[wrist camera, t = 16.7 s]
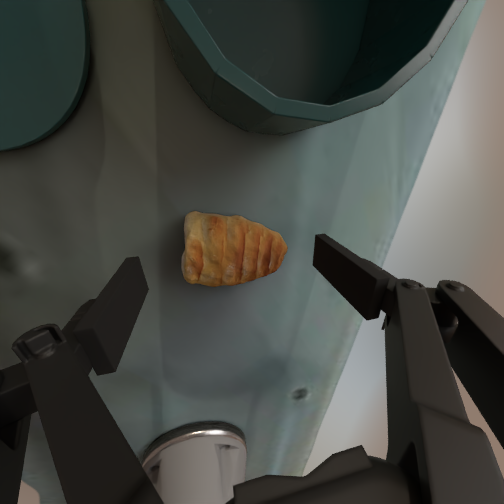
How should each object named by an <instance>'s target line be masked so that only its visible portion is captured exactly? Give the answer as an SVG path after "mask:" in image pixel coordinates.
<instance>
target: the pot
mask: <svg viewBox="0 0 504 504" xmlns="http://www.w3.org/2000/svg"><path fill="white" fill-rule="evenodd" d="M153 1H154V4H155V7H156V10H157V13H158V16H159V18H160V21H161V24H162V26H163V29H164V32H165V35H166V38H167V41H168V43H169V46H170V48H171V51H172V53H173V56H174V59H175V62H176V64H177V66H178V68H179V69H180V71H181V72H182V73H183V75H184V76H185V78H186V79H187V81H188V82H189V83H190V85H191V86H192V88H193V89H194V91H195V92H196V93H197V94H198V95H199V97H200V98H201V99H202V100H203V101H204V102H205V103H206V105H207V106H208V107H209V108H210V109H211V110H213V111H214V112H215V113H216V114H218V115H219V116H221V117H222V118H223V119H225V120H226V121H228V122H230V123H232V124H233V125H235V126H237V127H239V128H241V129H243V130H245V131H249V132H255V133H260V134H273V135H285V134H289V133H293V132H297V131H301V130H304V129H308V128H312V127H316V126H320V125H323V124H327V123H331V122H334V121H336V120H339V119H342V118H345V117H348V116H350V115H353V114H356V113H359V112H362V111H364V110H367V109H370V108H373V107H376V106H379V105H381V104H383V103H384V102H385V101H386V100H387V99H388V98H389V97H391V96H392V95H393V94H394V93H395V92H396V91H397V90H398V89H399V88H401V87H402V86H403V85H404V84H405V83H406V82H407V81H408V80H409V79H411V78H412V77H413V76H414V75H415V74H416V73H417V72H418V71H419V70H421V69H422V68H423V67H424V66H425V65H426V64H427V63H428V62H429V61H431V59H432V58H433V56H434V54H435V53H436V51H437V50H438V48H439V46H440V45H441V43H442V42H443V40H444V38H445V37H446V35H447V34H448V32H449V30H450V29H451V27H452V26H453V24H454V22H455V21H456V19H457V17H458V16H459V14H460V13H461V11H462V9H463V8H464V6H465V5H466V3H467V1H468V0H153Z"/></svg>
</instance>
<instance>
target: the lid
mask: <svg viewBox="0 0 504 504" xmlns="http://www.w3.org/2000/svg"><path fill="white" fill-rule="evenodd" d="M89 60H90V31H89V23H88V14H87V8H86V4H85V0H0V151H8V150H14V149H18V148H22V147H26V146H29V145H31V144H33V143H36V142H38V141H40V140H42V139H44V138H45V137H47V136H48V135H50V134H52V133H53V132H55V131H56V130H57V129H58V128H59V127H60V126H61V125H62V124H63V123H64V122H65V121H66V120H67V119H68V117H69V116H70V115H71V113H72V112H73V110H74V109H75V108H76V105H77V103H78V101H79V99H80V97H81V95H82V93H83V89H84V86H85V82H86V79H87V75H88V67H89Z"/></svg>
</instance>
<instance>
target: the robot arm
mask: <svg viewBox="0 0 504 504" xmlns="http://www.w3.org/2000/svg"><path fill="white" fill-rule="evenodd" d="M313 266H314V267H315V268H316V269H317V270H318V271H319V272H320V273H321V274H322V275H323V276H324V277H325V278H326V279H327V280H328V281H329V282H330V283H331V284H332V286H333V287H334V288H335V289H336V290H337V291H338V292H339V293H340V294H341V295H342V296H343V297H344V298H345V299H346V300H347V301H348V302H349V303H350V304H351V305H352V306H353V307H354V308H355V309H356V310H357V311H358V312H359V313H360V314H361V315H362V316H363V317H364V318H365V319H366V320H371V319H376V318H378V317H379V314H380V311H381V310H382V311H383V312H385V313H386V316H385V319H384V323H383V326H382V330H384V328H385V351H386V381H387V382H386V383H387V415H388V452H387V458H386V460H384V459H381V458H378V457H373V456H368V455H367V454H366V452H365V450H364V448H363V446H362V445H360V446H357V447H354V448H350V449H347V450H345V451H341V452H338V453H335V454H332V455H331V456H330V457H329V458H327V459H326V460H325V461H324V462H322V463H321V464H320V465H319V466H318V467H316V468H315V469H314V470H313V471H312V472H310V473H309V474H308V475H306V476H304V477H297V476H279V475H265V476H262V477H258V478H255V479H252V480H249V481H246V482H245V471H246V459H247V448H246V442H245V436H244V434H243V432H242V431H241V430H240V429H239V428H238V427H236V426H234V425H232V424H228V423H224V422H200V423H194V424H190V425H186V426H183V427H180V428H177V429H175V430H173V431H170V432H168V433H166V434H165V435H163V436H161V437H160V438H158V439H157V440H156V441H154V442H153V443H152V444H151V445H150V446H149V447H148V449H147V450H146V452H145V454H144V456H143V461H142V465H141V464H140V462H139V460H138V459H137V457H136V455H135V454H134V452H133V450H132V449H131V447H130V445H129V444H128V442H127V440H126V439H125V437H124V435H123V434H122V432H121V430H120V429H119V427H118V425H117V424H116V422H115V420H114V419H113V417H112V415H111V414H110V412H109V410H108V409H107V407H106V405H105V404H104V402H103V400H102V399H101V397H100V395H99V394H98V392H97V390H96V388H95V387H94V385H93V383H92V382H91V380H90V378H89V377H88V375H89V373H90V371H91V369H92V367H93V369H94V371H95V372H96V374H97V376H98V375H103V374H108V373H113V372H116V369H117V367H118V364H119V362H120V359H121V357H122V355H123V352H124V350H125V347H126V345H127V342H128V340H129V337H130V335H131V332H132V330H133V327H134V325H135V322H136V320H137V317H138V315H139V312H140V310H141V307H142V305H143V302H144V300H145V298H146V295H147V293H148V290H149V289H148V285H147V282H146V279H145V276H144V273H143V269H142V266H141V263H140V260H139V257H130V258H126V259H125V261H124V262H123V263H122V265H121V266H120V267H119V269H118V270H117V271H116V273H115V274H114V275H113V277H112V278H111V279H110V281H109V282H108V284H107V285H106V286H105V288H104V289H103V290H102V292H101V293H100V294H99V296H98V297H97V298H96V299H91V300H89V301H88V302H86V303H85V304H83V305H82V306H81V307H80V308H79V309H78V311H77V312H76V313H75V315H74V316H73V317H72V318H71V321H69V322H68V323H67V324H66V326H65V327H64V328H63V329H62V331H61V330H60V328H59V327H58V326H57V325H56V324H46V325H41V326H39V327H36V328H33V329H31V330H30V331H28V332H26V333H24V334H23V335H21V336H20V337H19V338H17V340H16V341H15V342H14V343H13V344H12V350H13V351H14V352H15V353H16V355H17V356H18V357H19V359H20V360H21V361H22V362H21V363H19V364H16V365H13V366H11V367H8V368H5V369H3V370H0V504H17V502H18V496H19V490H20V483H21V477H22V471H23V464H24V458H25V452H26V445H27V439H28V433H29V426H30V420H31V414H32V413H35V412H37V411H38V412H39V415H40V419H41V422H42V425H43V428H44V431H45V435H46V438H47V441H48V444H49V448H50V451H51V454H52V457H53V461H54V464H55V467H56V470H57V473H58V477H59V480H60V483H61V486H62V490H63V493H64V496H65V499H66V502H67V504H504V479H503V476H502V474H501V471H500V468H499V466H498V463H497V460H496V458H495V455H494V452H493V450H492V447H491V444H490V442H489V440H488V438H487V436H486V433H485V432H484V431H483V430H482V429H481V428H479V427H477V426H475V425H472V424H471V423H470V422H469V419H468V417H467V414H466V411H465V407H464V404H463V401H462V398H461V396H460V392H459V389H458V386H457V383H456V380H455V377H454V374H453V371H452V368H453V370H454V371H455V373H456V375H457V376H458V378H459V379H460V381H461V383H462V384H463V386H464V387H465V389H466V391H467V392H468V394H469V395H470V397H471V398H472V400H473V402H474V403H475V405H476V406H477V407H478V409H479V411H480V412H481V414H482V416H483V417H484V419H485V421H486V422H487V424H488V425H489V427H490V428H491V430H492V432H493V433H494V435H495V436H496V438H497V440H498V441H499V442H500V444H501V446H502V447H503V449H504V318H503V317H502V316H501V315H500V314H498V313H497V312H496V311H495V310H494V309H493V308H492V307H491V306H489V305H488V304H487V303H486V302H485V301H484V300H483V299H481V297H479V296H478V295H477V294H476V293H475V292H474V291H473V290H471V289H470V288H469V287H467V286H466V285H464V284H461V283H460V282H456V281H450V280H442V281H439V283H438V285H437V288H425V287H424V286H423V285H422V284H421V283H418V282H416V281H414V280H410V279H397V278H395V277H394V276H393V275H391V274H390V273H388V272H386V271H385V270H382V268H380V267H379V266H377V265H376V264H374V263H373V262H371V261H368V260H366V259H363V258H360V257H359V256H357V255H356V254H354V253H353V252H351V251H350V250H348V249H347V248H345V247H344V246H342V245H341V244H339V243H338V242H336V241H335V240H333V239H332V238H330V237H329V236H327V235H326V234H318V235H315V245H314V256H313ZM457 322H458V324H457ZM451 367H452V368H451Z"/></svg>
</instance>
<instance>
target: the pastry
mask: <svg viewBox="0 0 504 504" xmlns="http://www.w3.org/2000/svg"><path fill="white" fill-rule="evenodd" d="M184 235H185V251H184V253H183V255H182V259H181V260H182V265H181V267H182V272H183V277H184V278H185V280H186V281H187V282H189V283H190V284H194V283H199V284H203V285H207V286H213V287H216V286H222V285H229V286H234V285H237V284H243V283H245V282H247V281H252V280H255V279H257V278H260V277H264V276H267V275H268V274H271V273H273V272H275V271H276V270H277V269H278V268H279V267H280V265H281V263H282V261H283V258H284V255H285V254H286V252H287V249H288V248H287V245H286V243H285V242H284V240H283V239H282V237H281V235H280V234H279V233H277V232H275V231H272V230H270V229H267V228H266V227H265V226H263V225H262V224H259V223H256V222H252V221H250V220H247V219H245V218H243V217H242V216H238V215H234V216H222V215H218V214H212V213H209V214H208V213H201V212H198V211H192V212H190V213H188V214H187V215H186V217H185V223H184Z"/></svg>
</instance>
